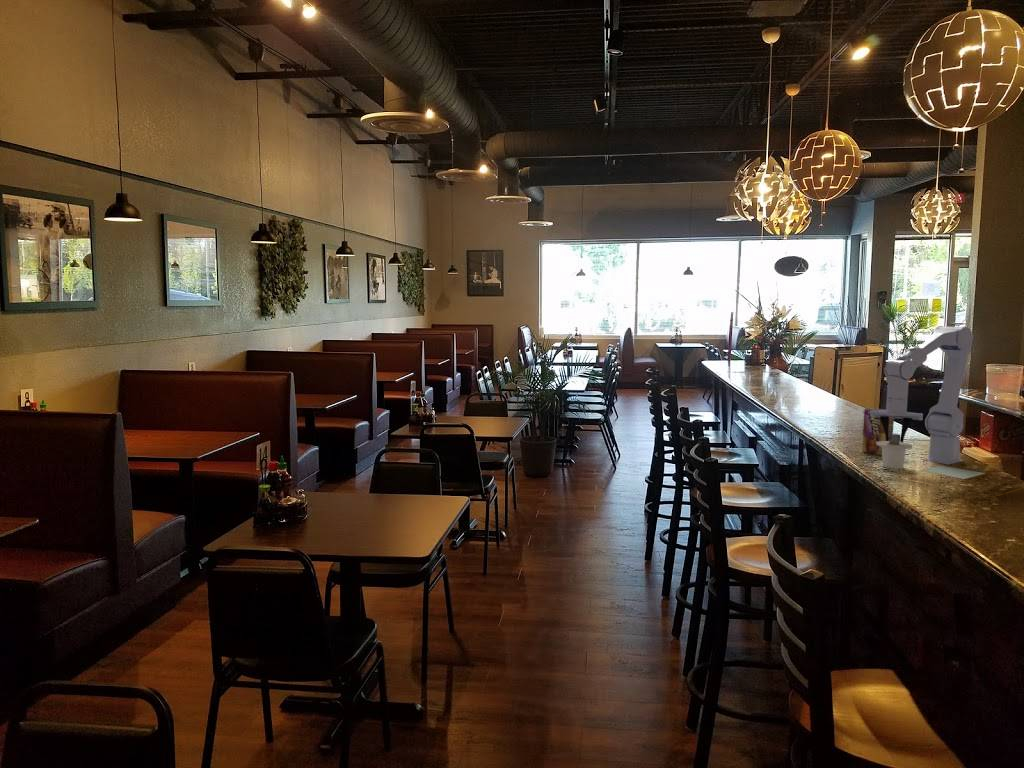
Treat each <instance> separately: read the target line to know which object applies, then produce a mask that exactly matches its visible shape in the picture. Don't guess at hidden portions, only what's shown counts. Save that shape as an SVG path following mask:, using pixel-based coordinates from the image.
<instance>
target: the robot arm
mask: <svg viewBox="0 0 1024 768" xmlns="http://www.w3.org/2000/svg"><path fill="white" fill-rule="evenodd" d="M973 341H974V334H973V333H972V331H971V329H970V328H969V327H967V326H942V325H939V326H937V327H935V329H932V331H931V335H929V337H928V338H927V339H926V340H925V341H923V343H921V344H920V345H919V346H910V347H908V350H907V351H905V352H904V353H902V354H900V356H899V357H897V358H896V359H890V360H888V361H887V362H886V364H885V366H884V368H883V373H884V375H885V378H886V379H885V381H886V383H887V388H886V389H887V390H886V407H885V410H886V411H877V410H870V417H880V421H881V423H882V425H883V428H884V431H885V436H886V441H888V428H889V418H894V419H901V434H900V442H903V443H904V439H905V436H906V433H907V431H908V429H909V428H910V426H911V424H912V422H913V421H912V420H916V421H923V416H924V414H923V413H921V412H920V413H918V412H912V411H911V412H910V411H908V410H907V409H908V395H909V384H910V383H909V382H910V381H909V380H910V379H911V378H912V377H913V376H914V374H915V371H917V370H916V369H917V368H918V367H920V366H921V365H922V364H923V363H925V362H926V361H927V360H928V359H927V358H928V355H930V354H931V353H933V352H934V351H936V350H937V349H940V350H941V351H942V352H943V353H945V354H946V356H947V358H948V359H947V360H946V361H947V363H946V365H945V366H946V367H945V371H944V374H943V375H944V376H943V380H942V384H941V390H940V393H939V398H938V402H937V404H935V405H934V406H932V407H930V408H929V411H928V414H927V416H926V418H925V420H924V426H925V428H926V430H927V431H928V434H930V438H929V448H928V449H929V450H928V457H926V458H923V459H922V460H923V461H926V462H932V463H938V464H944V465H951V464H956V463H959V462H960V463H961V462H963V460H962V459H960V452H961V440H960V438H959V435H960V434H961V433H962V431H963V429H964V416H965V414H964V413H963V412H962V411H961V410H960V408H959V407H958V403H959V398H960V394H961V389H962V386H963V385H962V384H963V381H964V376H965V372H966V371H965V370H966V366H967V362H968V356H969V354H971V351H972V350H971V349H972V345H973ZM889 415H891V416H889Z"/></svg>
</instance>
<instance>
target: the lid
mask: <svg viewBox="0 0 1024 768" xmlns="http://www.w3.org/2000/svg"><path fill="white" fill-rule="evenodd" d="M900 438H901V434H899V433H893V434H889V441H878V442H876V445H877V446H880V447H885V448H892V449H906V450H910V449H912V448H913V444H911V443H908V442H904V441H903V442H900Z"/></svg>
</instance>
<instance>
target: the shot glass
mask: <svg viewBox="0 0 1024 768" xmlns="http://www.w3.org/2000/svg"><path fill="white" fill-rule="evenodd" d="M906 452H907V449H892V448H885V447H882V455H881V456H882V457H881V458H882V459H881V460H882V462H881V463H882V467H884V468H888V469H895V470H897V469H903V468H904V464H905V463H904V462H905V457H906V456H905V455H906Z"/></svg>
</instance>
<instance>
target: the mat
mask: <svg viewBox="0 0 1024 768" xmlns="http://www.w3.org/2000/svg"><path fill="white" fill-rule="evenodd" d="M919 471H920V472H924V473H929V474H930V473H931V474H935V475H941V476H946V477H952V478H955V479H956V478H958V479H961V480H966V479H969V478H973V477H978V476H981V475H985V474H986V473H985V472H980V471H975V470H968V469H964V468H958V467H952V466H946V465H941V464H940V465H936V466H931V467H928V468H923V469H919Z"/></svg>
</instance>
